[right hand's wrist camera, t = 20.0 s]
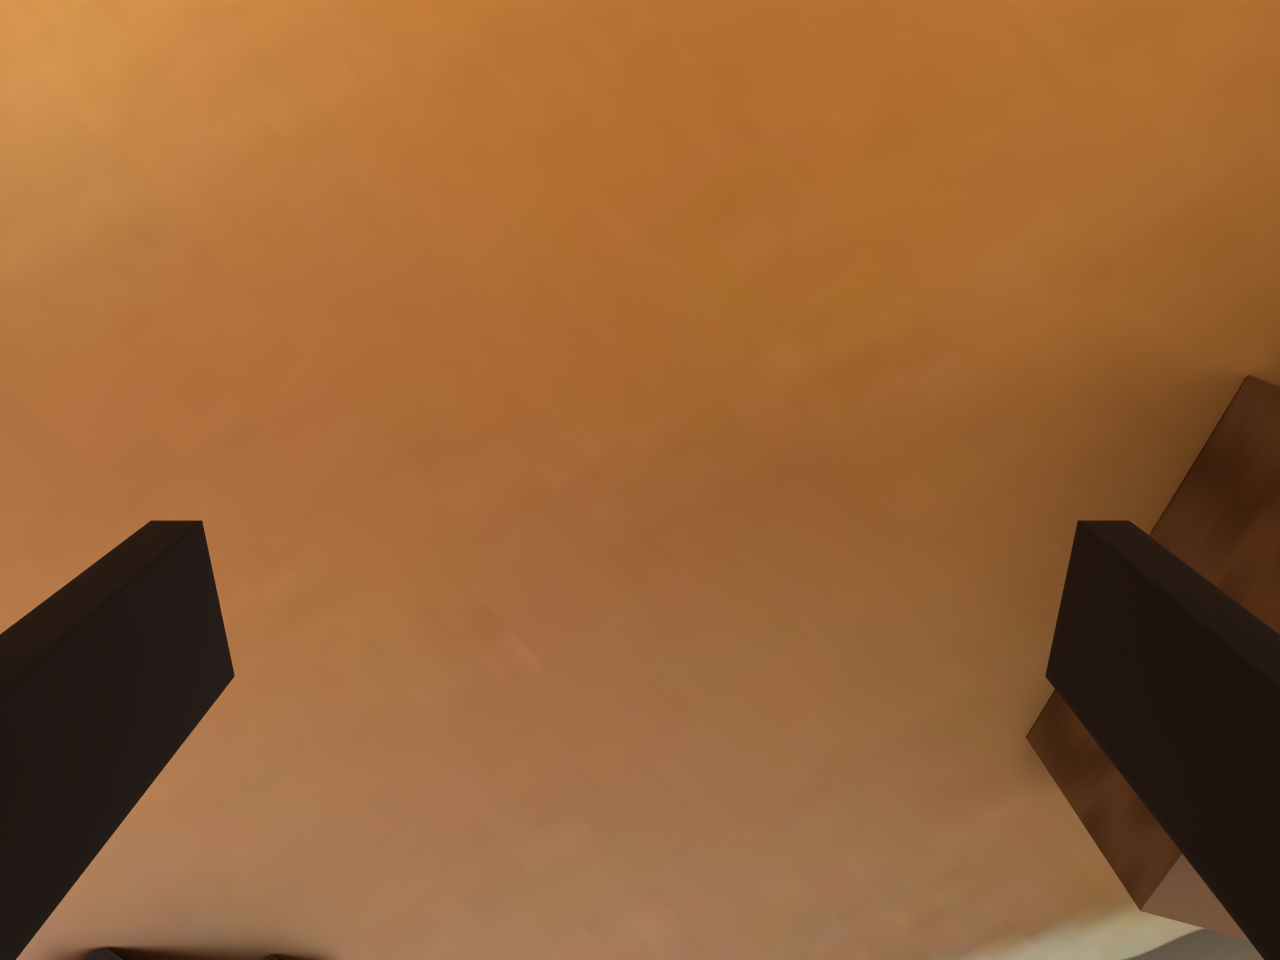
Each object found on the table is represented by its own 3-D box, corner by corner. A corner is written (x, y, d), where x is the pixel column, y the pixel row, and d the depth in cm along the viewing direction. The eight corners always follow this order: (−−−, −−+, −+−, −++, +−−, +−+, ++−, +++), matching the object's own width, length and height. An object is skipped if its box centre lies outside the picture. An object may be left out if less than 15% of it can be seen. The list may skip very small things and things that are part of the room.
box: (1115, 763, 52) (1253, 941, 40) (1025, 737, 51) (1139, 911, 39) (1350, 411, 43) (1611, 507, 32) (1247, 374, 43) (1475, 458, 31)
